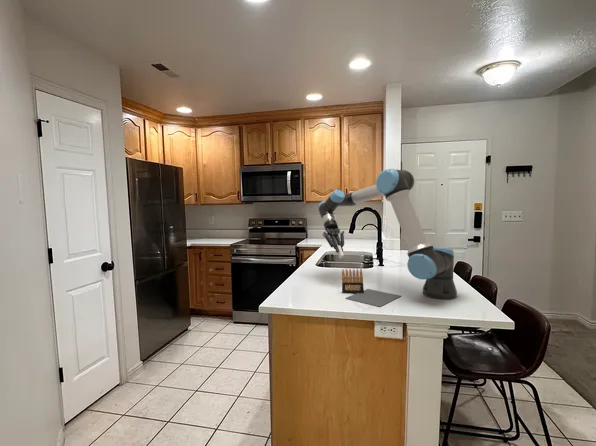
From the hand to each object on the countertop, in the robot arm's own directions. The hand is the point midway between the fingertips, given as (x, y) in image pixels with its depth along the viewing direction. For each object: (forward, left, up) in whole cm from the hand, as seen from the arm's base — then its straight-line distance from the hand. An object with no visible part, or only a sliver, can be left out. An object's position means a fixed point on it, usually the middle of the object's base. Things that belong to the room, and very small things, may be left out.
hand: (341, 256), depth 167 cm
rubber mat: (-23, +6, -16) cm, 29 cm away
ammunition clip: (-11, +6, -16) cm, 21 cm away
